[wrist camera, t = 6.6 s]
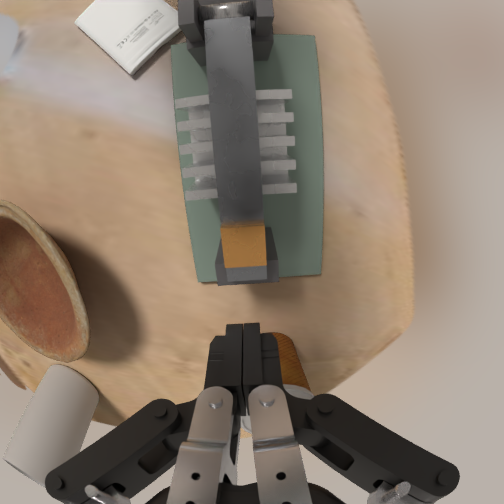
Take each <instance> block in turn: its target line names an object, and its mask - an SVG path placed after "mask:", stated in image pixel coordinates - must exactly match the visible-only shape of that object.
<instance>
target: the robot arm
mask: <svg viewBox="0 0 504 504" xmlns="http://www.w3.org/2000/svg"><path fill="white" fill-rule="evenodd" d="M246 407H247V413H248V416H250V422H251V431H252V439H253V451H254V460H255V468H256V476H257V482H256V483H252V484H248V485H244V486H238V485H237V460H238V451H239V442H240V428H241V416H246ZM299 444H300V445H303V446H304V447H305V448H306V449H307V450H308V451H310V452H311V453H312V454H314V455H315V456H316V457H318V458H319V459H320V460H322V461H323V462H324V463H326V464H327V465H328V466H330V467H331V468H333V469H334V470H335V471H337V472H338V473H340V474H341V475H343V476H344V477H345V478H347V479H349V480H350V481H351V482H353V483H355V484H356V485H357V486H359V487H361V488H362V489H364V490H366V491H367V492H368V493H370V495H369V497H368V500H367V504H434V503H435V502H436V501H437V500H439V499H441V498H443V497H444V496H446V495H448V494H450V493H451V492H452V491H453V490H454V489H455V488H456V487H457V485H458V482H459V478H460V475H459V471H458V469H457V467H456V466H454V465H453V464H452V463H449V462H448V461H446V460H443V459H442V458H440V457H438V456H436V455H434V454H432V453H430V452H428V451H426V450H424V449H423V448H421V447H419V446H417V445H415V444H413V443H412V442H410V441H408V440H406V439H405V438H403V437H401V436H399V435H398V434H396V433H394V432H392V431H391V430H389V429H387V428H386V427H384V426H382V425H381V424H379V423H377V422H376V421H374V420H372V419H370V418H369V417H368V416H366V415H364V414H363V413H361V412H360V411H358V410H356V409H355V408H353V407H352V406H350V405H349V404H347V403H345V402H344V401H343V400H341V399H340V398H338V397H336V396H334V395H331V394H319V395H317V396H315V397H313V398H312V399H311V400H310V399H303V398H298V397H295V396H292V395H290V394H289V393H288V392H287V391H286V390H285V388H284V386H283V382H282V374H281V366H280V358H279V350H278V342H277V339H276V338H275V337H274V335H273V334H272V333H262V334H260V324H259V323H244V330H243V324H227V325H226V336H215V338H214V339H213V341H212V342H211V343H210V349H209V356H208V363H207V371H206V378H205V385H204V390H203V391H202V392H201V393H200V394H199V396H198V397H197V398H196V399H194V400H192V401H190V402H186V403H182V404H177V405H175V404H174V403H173V402H172V401H170V400H167V399H157V400H154V401H152V402H150V403H149V404H147V405H146V406H145V407H143V408H142V409H141V410H139V411H138V412H137V413H135V414H134V415H133V416H131V417H130V418H128V419H127V420H126V421H124V422H123V423H122V424H120V425H119V426H117V427H116V428H115V429H113V430H112V431H110V432H109V433H108V434H106V435H105V436H103V437H102V438H100V439H99V440H98V441H96V442H95V443H93V444H92V445H90V446H89V447H87V448H86V449H84V450H83V451H81V452H80V453H78V454H77V455H75V456H74V457H72V458H71V459H69V460H68V461H66V462H64V463H63V464H61V465H60V466H58V467H56V468H55V469H53V470H52V471H50V472H49V473H48V474H47V476H46V478H45V487H46V490H47V492H48V493H49V494H50V495H51V496H52V497H53V498H55V499H57V500H59V501H61V502H63V503H64V504H131V503H130V500H129V499H130V498H132V497H133V496H135V495H136V494H137V493H139V492H140V491H141V490H143V489H144V488H145V487H147V486H148V485H149V484H151V483H152V482H153V481H155V480H156V479H157V478H158V477H159V476H161V475H162V474H163V473H165V472H166V471H167V470H168V469H170V468H171V467H172V466H173V465H175V464H176V465H175V469H174V473H173V477H172V482H171V486H169V487H167V488H165V489H163V490H162V491H160V492H159V493H158V494H156V495H155V496H154V497H153V498H152V499H150V500H149V501H148V502H147V503H145V504H345V503H344V502H343V501H341V500H340V499H339V498H337V497H336V496H335V495H333V494H332V493H331V492H329V491H328V490H326V489H325V488H323V487H321V486H318V485H315V484H312V483H308V482H307V478H306V474H305V470H304V465H303V461H302V457H301V452H300V448H299Z"/></svg>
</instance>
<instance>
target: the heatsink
mask: <svg viewBox="0 0 504 504" xmlns="http://www.w3.org/2000/svg"><path fill="white" fill-rule="evenodd" d="M291 99H292V89H274V90H256V102H257V116H258V131H259V146H260V161H261V177H262V193H263V194H280V193H297V183H296V182H295V181H294V180H293V179H292V178H291V177H290V175H289V174H288V170H294V169H296V160H295V159H294V158H292V157H291V156H289V155H287V146H295V136H290V135H286V123H292V122H294V114H293V112H285V106H284V104H286V103H287V102H288V101H290V100H291ZM175 106H176V109H178V110H182V111H185V112H188V113H189V120H188V121H181V122H177V129H178V132H185V131H190V135H191V143H187V144H183V145H179V149H180V155H184V154H192V155H193V162H192V163H190V164H189V165H187V166H185V167H184V168H182V175H183V178H189V177H195V182H194V183H193V184H192V185H191V186H190V187H189V188H188V189H187V190H186V191H185V198H186V201H190V200H200V199H211V198H218V194H217V185H216V175H215V164H214V154H213V143H212V132H211V120H210V107H209V94H208V95H200V96H193V97H187V98H181V99H175Z"/></svg>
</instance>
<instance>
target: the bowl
mask: <svg viewBox="0 0 504 504" xmlns="http://www.w3.org/2000/svg"><path fill="white" fill-rule="evenodd" d="M0 318H1V319H2V320H3V322H4V323H5V324H6V325H7V326H8V327H9V328H10V329H11V330H12V331H13V332H14V333H15V334H16V335H17V336H18V337H19V338H20V339H21V340H22V341H23V342H25V343H26V344H27V345H28V346H30V347H31V348H32V349H34V350H35V351H37V352H39V353H40V354H42V355H44V356H46V357H48V358H51V359H54V360H57V361H63V362H65V363H69V362H72V361H75V360H78V359H80V358H81V357H83V356H84V354H85V353H86V351H87V350H88V347H89V343H90V324H89V319H88V314H87V310H86V307H85V304H84V301H83V298H82V295H81V293H80V291H79V288H78V284H77V280H76V277H75V275H74V272H73V270H72V268H71V266H70V263H69V261H68V260H67V258H66V256H65V254H64V253H63V252H62V250H61V249H60V247H59V246H58V245H57V244H56V242H55V241H54V240H53V238H52V237H51V236H50V235H49V234H48V233H47V232H46V231H45V230H44V229H43V228H42V227H40V226H39V224H38V223H37V222H36V221H35V220H34V219H33V218H32V217H31V216H30V215H28V214H27V213H26V212H25V211H23V210H22V209H21V208H19V207H18V206H16V205H14V204H12V203H11V202H8V201H4V200H0Z"/></svg>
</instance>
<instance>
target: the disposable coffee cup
mask: <svg viewBox="0 0 504 504" xmlns="http://www.w3.org/2000/svg"><path fill="white" fill-rule="evenodd" d="M272 334H273V335H274V337H275V338H276V339H277V342H278V350H279V358H280V366H281V374H282V382H283V386H284V388H285V390H286V391H287V392H288V393H289V394H290V395H292V396H295V397H298V398H303V399H310V400H311V399H312V398H313V397H315V396H314V395H313V393H312V392H311V391H310V387H309V385H308V383H307V379H306V376H305V374H304V372H303V369H302V366H301V363H300V362H299V359H298V356H297V353H296V350H295V347H294V345H293V342H292V340H291V339H290V338H289V337H288V336H286V335H284V334H281V333H272ZM241 428H243V429H244V430H245V431H247V432H249V433H251V434H252V431H251V422H250V416H248V413H247V407H246V416H241Z"/></svg>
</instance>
